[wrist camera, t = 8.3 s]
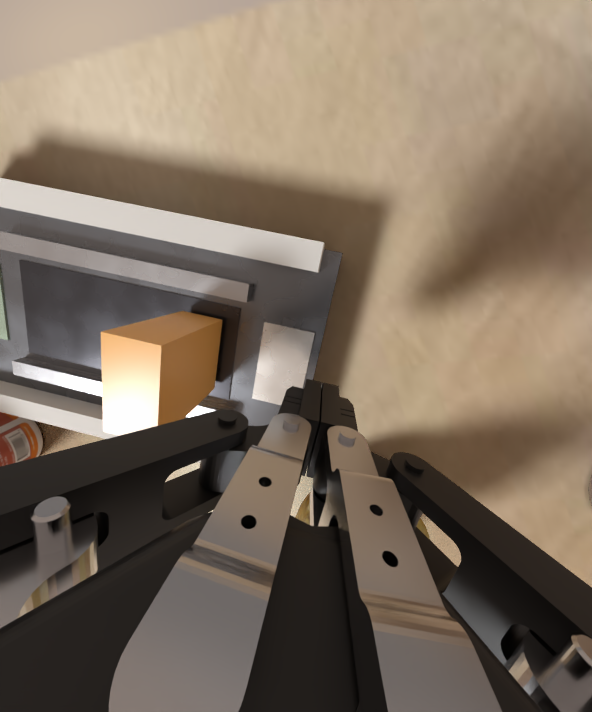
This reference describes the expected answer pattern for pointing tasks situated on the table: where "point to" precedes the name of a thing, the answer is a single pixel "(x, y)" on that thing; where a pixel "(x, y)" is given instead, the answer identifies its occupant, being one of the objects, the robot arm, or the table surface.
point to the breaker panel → (153, 309)
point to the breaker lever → (157, 370)
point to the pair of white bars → (147, 225)
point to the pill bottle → (18, 439)
